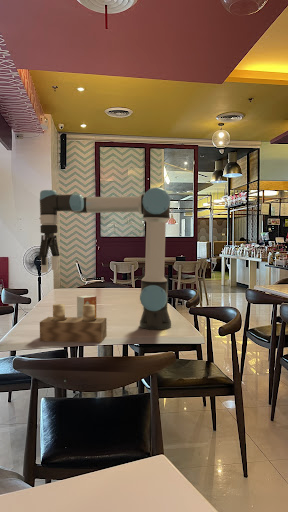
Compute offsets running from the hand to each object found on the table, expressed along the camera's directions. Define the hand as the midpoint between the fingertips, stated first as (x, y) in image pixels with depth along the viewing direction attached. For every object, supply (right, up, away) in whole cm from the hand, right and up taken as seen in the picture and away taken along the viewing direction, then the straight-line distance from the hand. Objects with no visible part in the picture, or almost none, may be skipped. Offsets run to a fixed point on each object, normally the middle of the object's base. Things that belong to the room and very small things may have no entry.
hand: (49, 271), depth 184 cm
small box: (+14, -27, +23) cm, 38 cm away
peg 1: (+7, -22, -12) cm, 26 cm away
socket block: (+13, -28, -12) cm, 33 cm away
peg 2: (+20, -22, -13) cm, 32 cm away
